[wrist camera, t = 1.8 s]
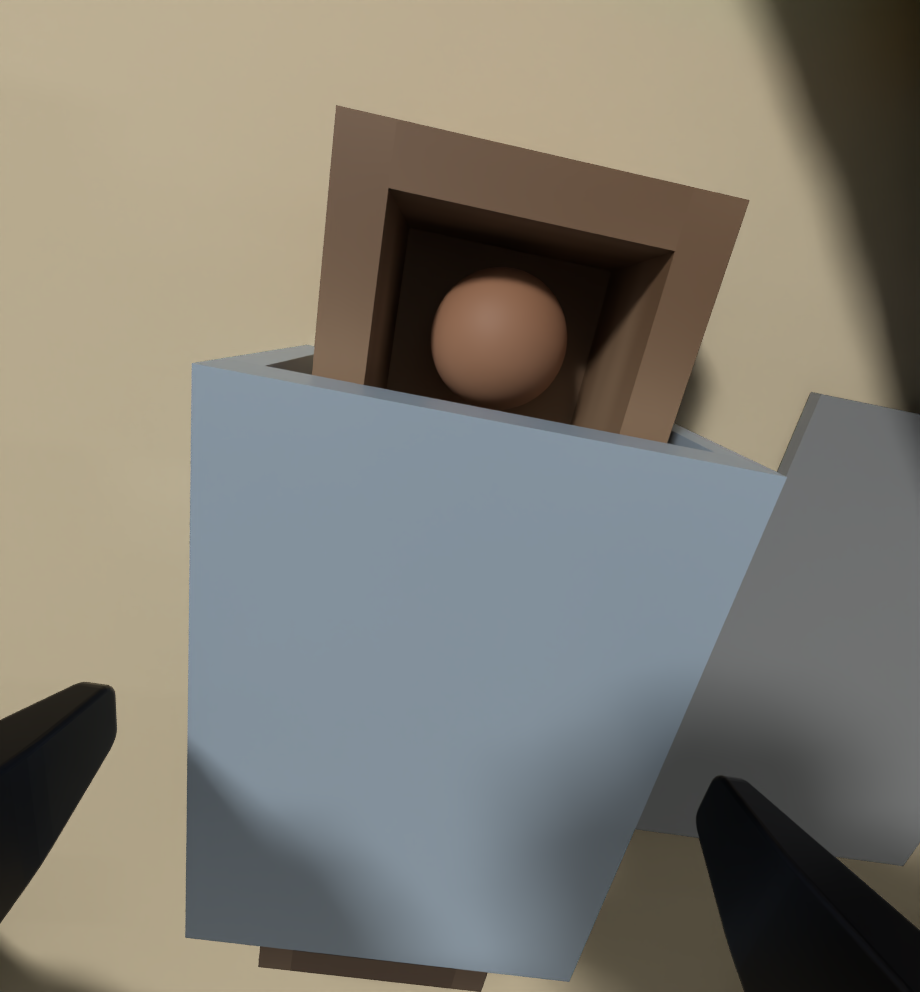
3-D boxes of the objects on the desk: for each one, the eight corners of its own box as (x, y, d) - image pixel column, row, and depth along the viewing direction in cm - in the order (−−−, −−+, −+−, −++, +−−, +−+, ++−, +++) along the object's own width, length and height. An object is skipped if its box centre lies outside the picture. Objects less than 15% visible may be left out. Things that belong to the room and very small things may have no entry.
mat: (894, 855, 14) (903, 865, 14) (630, 818, 14) (633, 828, 14) (1165, 464, 10) (1184, 468, 10) (811, 392, 10) (820, 393, 10)
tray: (475, 849, 14) (481, 992, 11) (301, 826, 14) (258, 966, 11) (651, 240, 9) (749, 200, 6) (378, 179, 9) (336, 104, 6)
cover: (534, 773, 13) (569, 981, 9) (274, 735, 13) (184, 938, 9) (649, 411, 10) (787, 476, 6) (308, 344, 10) (191, 363, 5)
